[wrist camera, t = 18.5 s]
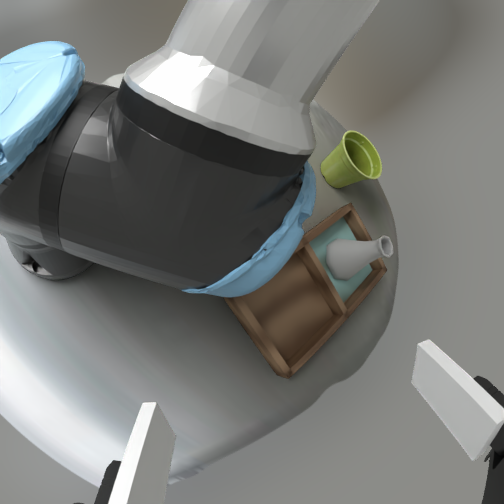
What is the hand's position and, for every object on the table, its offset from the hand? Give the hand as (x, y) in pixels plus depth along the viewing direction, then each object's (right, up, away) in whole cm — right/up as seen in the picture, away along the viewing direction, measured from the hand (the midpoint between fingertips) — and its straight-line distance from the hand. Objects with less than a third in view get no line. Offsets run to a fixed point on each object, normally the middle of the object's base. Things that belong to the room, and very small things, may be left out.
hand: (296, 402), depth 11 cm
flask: (+13, +6, +33) cm, 36 cm away
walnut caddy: (+8, +2, +30) cm, 31 cm away
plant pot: (+13, +22, +38) cm, 45 cm away
